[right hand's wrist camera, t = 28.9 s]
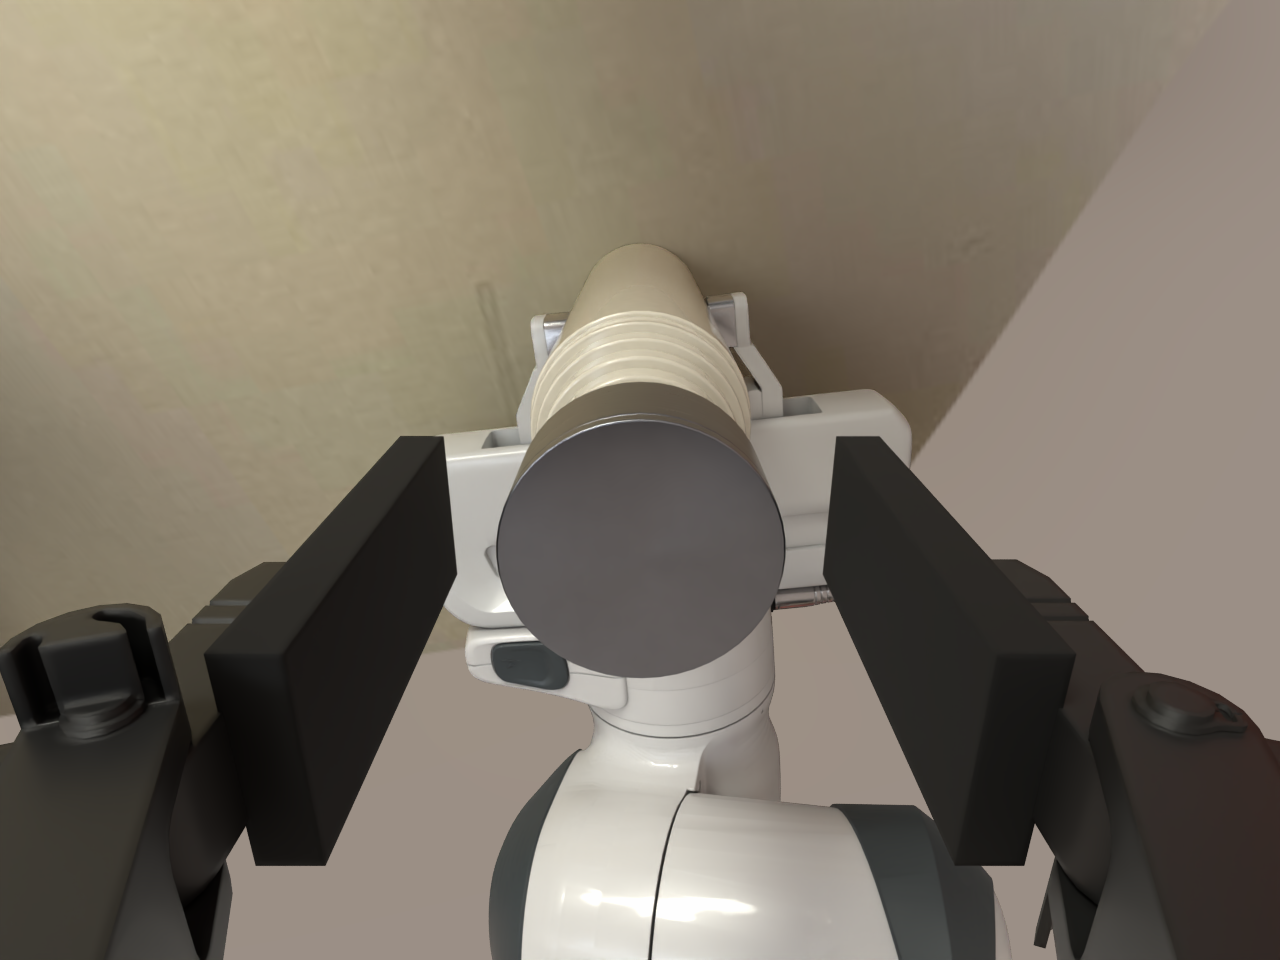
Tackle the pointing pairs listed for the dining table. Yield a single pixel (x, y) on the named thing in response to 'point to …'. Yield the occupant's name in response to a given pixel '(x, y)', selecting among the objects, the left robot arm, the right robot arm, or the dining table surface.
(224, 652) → the right robot arm
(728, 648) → the cap
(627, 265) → the bottle
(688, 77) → the dining table surface
